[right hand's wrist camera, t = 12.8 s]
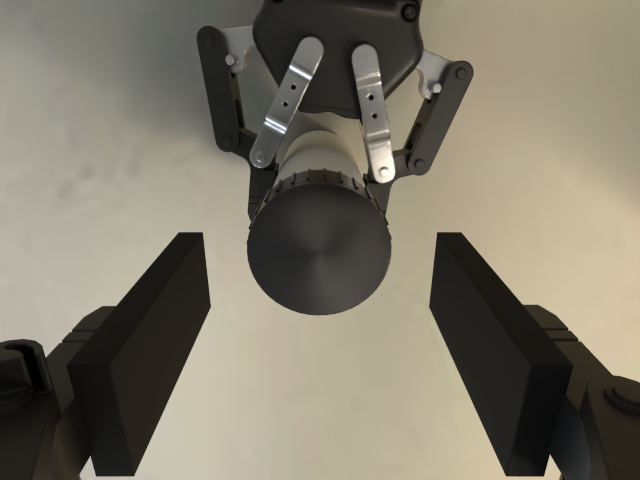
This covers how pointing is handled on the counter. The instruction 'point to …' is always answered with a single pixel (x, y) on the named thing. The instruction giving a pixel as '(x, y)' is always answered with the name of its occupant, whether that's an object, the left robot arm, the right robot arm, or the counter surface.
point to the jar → (319, 156)
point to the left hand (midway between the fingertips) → (313, 232)
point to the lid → (319, 243)
